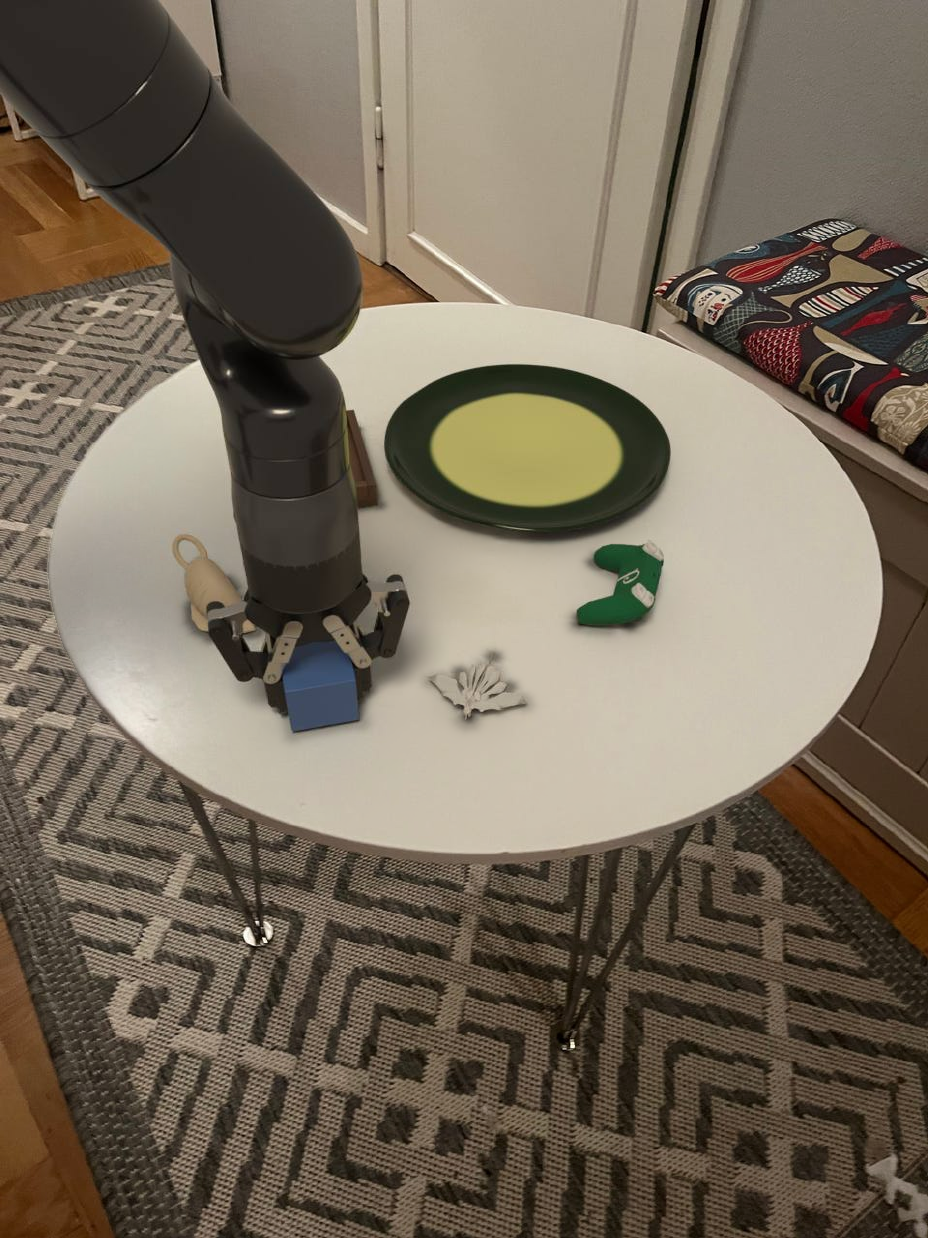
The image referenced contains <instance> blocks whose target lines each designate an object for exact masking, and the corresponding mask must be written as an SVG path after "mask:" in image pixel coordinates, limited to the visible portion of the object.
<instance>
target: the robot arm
mask: <svg viewBox="0 0 928 1238" xmlns="http://www.w3.org/2000/svg"><path fill="white" fill-rule="evenodd" d="M0 95H1V97H2V98H3V99H4V100H5V102H7V104H9V106H10V107H11V108H12V109H13V110H14V111H15V112H16V113H17V114H18V115H19V116H20V117H21V119H23V121H24V122H25V123H26V124H27V125H29V127H30V128H31V129H32V130H33V131H34V132H35V133H36V134H37V135H38V136H39V137H40V138H41V139H42V140H43V141H44V142H45V143H46V144H47V145H48V146H49V147H50V149H52V150H53V151H54V153H55V154H57V155H58V157H60V159H61V160H62V161H63V162H64V163H65V164H66V165H67V166H68V167H69V168H70V169H71V170H72V171H73V172H74V174H76V175H77V176H78V177H79V178H80V179H81V180H82V181H83V182H84V183H85V184H86V185H87V186H88V187H89V188H90V189H91V190H92V191H93V192H94V193H95V194H96V195H97V196H98V197H99V198H101V199H102V200H103V201H104V202H105V203H106V204H108V205H109V206H110V207H111V208H113V209H114V210H115V211H117V212H118V213H119V214H120V215H122V216H123V218H126V219H127V220H128V221H130V222H131V223H133V224H134V225H136V226H137V227H139V228H140V229H142V230H143V231H144V232H146V233H147V234H148V235H149V236H151V238H153V239H154V240H155V241H157V242H158V243H159V244H160V245H161V246H162V247H164V248H165V249H166V251H168V259H169V260H168V261H169V270H170V276H171V283H172V286H173V291H174V293H175V297H176V301H177V304H178V307H179V310H180V312H181V315H182V318H183V321H184V323H185V326H186V329H187V332H188V334H189V336H190V339H191V342H192V344H193V346H194V349H195V352H196V354H197V357H198V359H199V363H200V364H201V368H202V369H203V371H204V372H203V373H204V374H205V376H206V378H207V380H208V382H209V384H210V387H211V389H212V391H213V393H214V395H215V398H216V401H217V404H218V407H219V412H220V417H221V425H222V427H221V428H222V434H223V438H224V444H225V445H224V446H225V451H226V455H227V461H228V465H229V471H230V483H231V484H230V486H231V488H230V489H231V490H230V491H231V504H232V513H233V519H234V523H235V527H236V531H237V537H238V542H239V548H240V553H241V559H242V564H243V569H244V574H245V580H246V585H247V589H246V592H245V593H244V596H243V599H242V602H239V603H236V604H233V605H230V606H227V607H225V606H224V604H223V603H221V602H219V601H213V602H210V603H209V604H208V605H207V607H206V611H207V622H208V637H210V640H211V641H212V642H213V644H214V646H215V648H216V649H217V650H218V652H219V653H220V655H221V657H222V658H223V661H224V662H225V663H226V665H227V667H229V670H230V671H231V673H232V674H233V676H234V678H235V679H236V680H237V682H241V683H247V682H250V681H251V680H253V678H256V679H260V680H262V682H263V685H264V690H265V696H266V701H267V705H268V706H269V707H270V708H271V709H274V708H278V713H279V714H283V713H288V708H287V702H286V696H285V690H284V684H283V677H282V672H283V669H284V667H285V664H288V663H289V660H290V658H291V655H292V652H293V649H294V647H300V646H305V645H307V644H310V643H313V642H331V641H336V642H337V643H338V645H339V646H340V647H341V649H342V650H343V652H344V653H345V654H348V655H349V657H350V658H351V661H352V666H353V670H354V674H355V679H356V688H357V700H358V701H359V700H364V699H365V693H366V692H370V691H371V689H372V687H373V682H372V667H371V665H372V663H373V661H374V660H375V659H377V658H379V657H380V658H381V659H391V658H393V657H394V656H395V655H396V653H397V651H398V647H399V643H400V639H401V636H402V632H403V629H404V625H405V622H406V619H407V616H408V612H409V608H410V605H411V601H410V597H409V594H408V591H407V587H406V584H405V581H404V577H403V576H402V575H401V574H399V573H398V574H397V573H394V574H391V575H389V576H388V577H386V580H385V581H381V582H380V581H369V579H368V578H367V576H366V575H365V574H364V573H363V562H362V548H361V536H360V535H361V534H360V533H361V532H360V523H359V522H360V521H359V508H358V505H357V492H356V485H355V481H354V476H353V472H352V469H351V463H350V454H349V440H348V427H347V413H346V410H347V405H346V398H345V395H344V391H343V388H342V385H341V383H340V381H339V379H338V377H337V375H336V374H335V372H334V371H333V370H332V369H331V368H330V367H329V365H328V364H326V362H325V361H324V360H323V359H322V357H320V356H323V355H326V354H327V353H329V352H331V351H333V350H334V349H336V348H337V347H338V346H339V345H341V344H342V343H343V342H344V341H345V340H346V339H347V338H348V337H349V335H350V334H351V332H352V331H353V329H354V327H355V326H356V323H357V321H358V319H359V316H360V313H361V310H362V305H363V299H364V298H363V297H364V279H363V278H364V277H363V271H362V266H361V263H360V259H359V255H358V254H357V251H356V248H355V245H354V243H353V241H352V240H351V238H350V237H349V234H348V233H347V231H346V230H345V228H344V226H343V225H342V224H341V223H340V221H339V220H338V218H337V217H336V215H335V214H334V213H333V212H332V211H331V210H330V208H329V207H328V206H327V205H326V204H325V203H324V201H323V200H322V199H321V198H320V197H319V195H317V194H316V192H314V190H313V189H312V188H311V187H310V185H309V184H308V183H306V181H304V180H303V179H302V177H301V176H300V175H299V174H298V173H297V172H296V170H294V169H293V168H292V167H291V165H290V164H289V163H288V162H287V161H286V160H285V159H284V158H283V157H282V156H281V154H280V153H279V152H278V151H277V150H276V149H275V148H274V147H272V146H271V144H270V143H269V142H268V141H267V140H265V138H263V137H262V136H261V134H259V133H258V132H257V131H256V130H255V129H254V128H253V127H252V125H251V124H249V123H248V122H247V120H246V119H245V118H244V117H243V116H242V114H241V113H240V112H239V111H238V110H237V109H236V108H235V107H234V105H233V104H232V103H231V101H230V99H229V98H228V97H227V95H226V94H225V92H224V91H223V89H222V87H221V86H220V84H219V82H218V81H217V80H216V78H215V77H214V74H213V73H212V71H211V70H210V69H209V67H208V66H207V65H206V64H205V62H204V61H203V59H202V58H201V56H200V55H199V53H198V52H197V51H196V49H195V48H194V47H193V46H192V44H191V43H190V41H189V40H188V38H187V37H186V36H185V34H184V33H183V32H182V30H181V29H180V27H179V26H178V25H177V23H176V22H175V20H174V19H173V18H172V17H171V15H170V14H169V12H168V11H167V10H166V8H165V7H164V6H163V4H162V3H161V1H160V0H0ZM370 602H374V603H375V608H376V610H377V613H376V618H375V622H374V625H373V629H372V631H371V632H368V633H366V634H365V633H364V631H363V630H362V629H361V627H360V625H359V624H358V623H357V619H358V618H359V617H360V615H361V614H362V613H363V611H364V610H365V609H366V608H367V607H368V605H369V604H370ZM247 620H249V621H250V622H251V623H253V624H254V626H255V627H257V628H259V629H260V630H261V631H263V632H265V634H264V640H263V643H262V646H261V648H260V651H255V650H251V648H250V646H249V645H248V643H247V642H246V640H245V638H244V637H243V635H242V634H244V633H243V623H244V622H245V621H247Z"/></svg>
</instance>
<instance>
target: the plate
mask: <svg viewBox="0 0 928 1238" xmlns="http://www.w3.org/2000/svg"><path fill="white" fill-rule="evenodd" d="M383 449H384V456H385V459H386V462H387V464H388V466H389V468H390V470H391V471H392V472H393V474H394V475H395V476H396V478H397V479H398V481H399V482H400V483H401V484H402V485H403V486H404V487H405V488H406V489H407V490H408V491H409V492H410V493H411V494H413V495H414V496H415V497H416V498H418V499H419V500H421V501H423V502H424V503H425V504H427V505H429V506H430V507H432V508H434V509H435V510H438V511H440V512H442V513H444V514H447V515H448V516H451V517H454V518H456V519H459V520H463V521H466V522H470V523H473V524H477V525H483V526H487V527H492V528H498V529H502V530H509V531H514V532H515V531H517V532H524V533H525V532H526V533H554V532H565V531H572V530H579V529H584V528H589V527H593V526H596V525H601V524H604V523H606V522H610V521H612V520H614V519H617V518H619V517H622V516H624V515H626V514H628V513H630V512H631V511H633V510H635V509H637V508H638V507H640V506H641V505H643V504H644V503H645V502H646V501H648V500H649V499H650V498H651V497H653V495H654V494H655V493H656V492H657V490H659V488H660V487H661V485H662V483H664V480H665V479H666V476H667V473H668V470H669V466H670V462H671V454H672V452H671V451H672V449H671V442H670V438H669V435H668V433H667V431H666V429H665V427H664V425H663V424H662V422H661V421H660V419H659V418H658V416H657V415H656V414H655V413H654V412H653V411H652V410H651V408H649V407H648V406H647V405H646V403H645V404H644V402H642V401H641V400H639V398H638V397H636V396H634V395H633V394H632V393H629V392H628V391H626V390H624V389H623V388H621V387H619V386H618V385H615V384H613V383H610V382H609V381H606V380H603V379H601V378H599V377H595V376H593V375H590V374H587V373H584V372H581V371H577V370H572V369H569V368H564V367H559V366H552V365H551V366H550V365H541V364H530V363H529V364H526V363H504V364H503V363H502V364H492V365H491V364H490V365H484V366H478V367H473V368H467V369H464V370H460V371H455V372H452V373H449V374H447V375H444V376H442V377H439V378H437V379H435V380H433V381H431V382H429V383H428V384H426V385H425V386H424V387H422V388H420V389H418V390H416V391H415V392H414V393H412V394H411V395H410V396H408V397H407V398H406V399H404V400H403V401H402V402H401V403H400V404H398V407H396V409H394V412H392V414H391V417H390V418H389V420H388V422H387V424H386V427H385V432H384V439H383Z"/></svg>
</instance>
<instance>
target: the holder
mask: <svg viewBox="0 0 928 1238" xmlns="http://www.w3.org/2000/svg"><path fill="white" fill-rule="evenodd" d="M346 413H347V427H348V440H349V454H350V463H351V469H352V472H353V476H354V481H355V485H356V492H357V505H358V509H363V508H369V507H371V508H372V507H376V506H378V489H377V481H376V478H375V476H374V472H373V469H372V465H371V462H370V459H369V455H368V451H367V448H366V446H365V442H364V439H363V435H362V431H361V430H360V426H359V421H358V419H357V415H356V412H355V410H354V409H346Z"/></svg>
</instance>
